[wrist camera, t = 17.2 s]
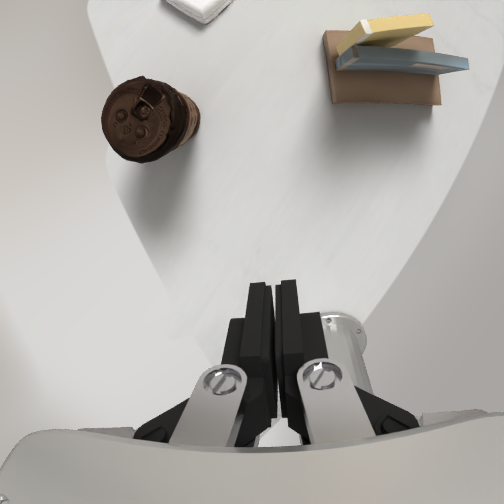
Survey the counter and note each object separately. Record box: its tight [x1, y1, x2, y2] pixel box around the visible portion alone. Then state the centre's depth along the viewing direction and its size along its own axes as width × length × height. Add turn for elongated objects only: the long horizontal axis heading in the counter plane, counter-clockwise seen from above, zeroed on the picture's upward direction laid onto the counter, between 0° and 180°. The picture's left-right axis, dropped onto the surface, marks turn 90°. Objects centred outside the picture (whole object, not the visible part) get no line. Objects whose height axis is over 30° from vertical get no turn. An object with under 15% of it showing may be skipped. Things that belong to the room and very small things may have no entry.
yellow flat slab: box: [336, 14, 434, 56], centre depth 23 cm, size 1×7×10 cm, turn 110°
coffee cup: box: [101, 76, 200, 163], centre depth 30 cm, size 9×8×13 cm
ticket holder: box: [323, 31, 469, 105], centre depth 27 cm, size 9×14×10 cm, turn 97°
